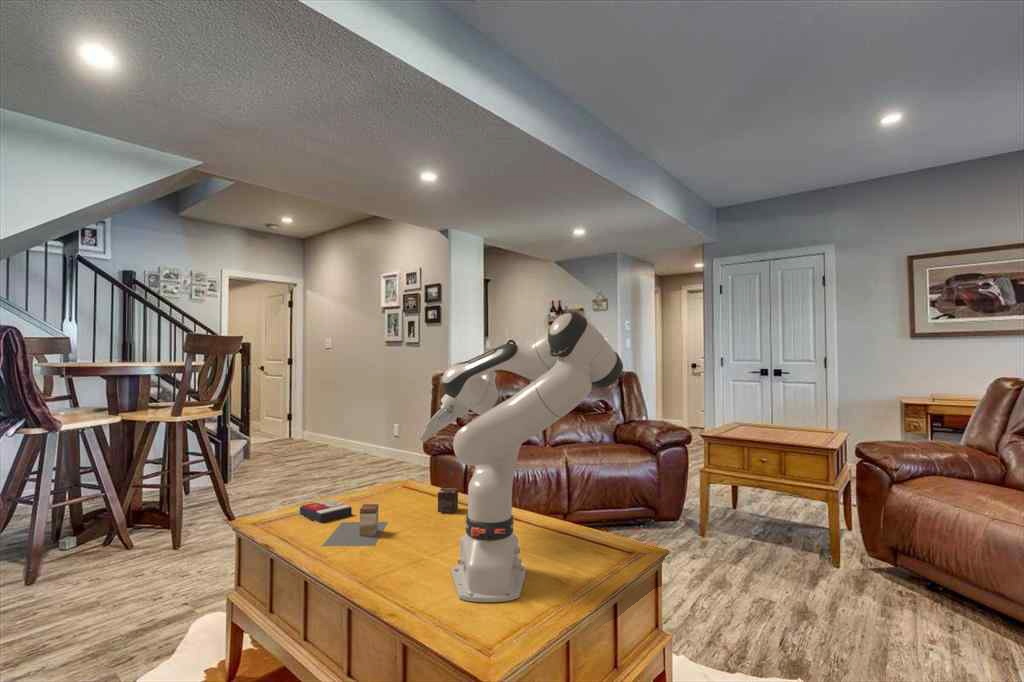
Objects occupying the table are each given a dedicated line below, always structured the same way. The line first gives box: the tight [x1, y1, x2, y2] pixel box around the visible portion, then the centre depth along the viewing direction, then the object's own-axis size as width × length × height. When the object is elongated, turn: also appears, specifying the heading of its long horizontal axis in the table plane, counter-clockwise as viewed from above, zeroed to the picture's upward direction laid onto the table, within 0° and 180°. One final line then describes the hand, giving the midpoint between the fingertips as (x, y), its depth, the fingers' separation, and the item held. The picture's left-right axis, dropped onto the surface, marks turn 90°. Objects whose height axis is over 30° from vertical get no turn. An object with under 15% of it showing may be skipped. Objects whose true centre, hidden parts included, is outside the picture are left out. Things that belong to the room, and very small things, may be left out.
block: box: [359, 503, 380, 536], centre depth 153 cm, size 4×4×8 cm
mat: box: [321, 521, 389, 547], centre depth 153 cm, size 20×15×1 cm
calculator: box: [299, 499, 353, 524], centre depth 170 cm, size 11×4×15 cm
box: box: [437, 487, 459, 514], centre depth 177 cm, size 6×6×7 cm
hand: (426, 438), depth 158 cm, fingers open, 8 cm apart
